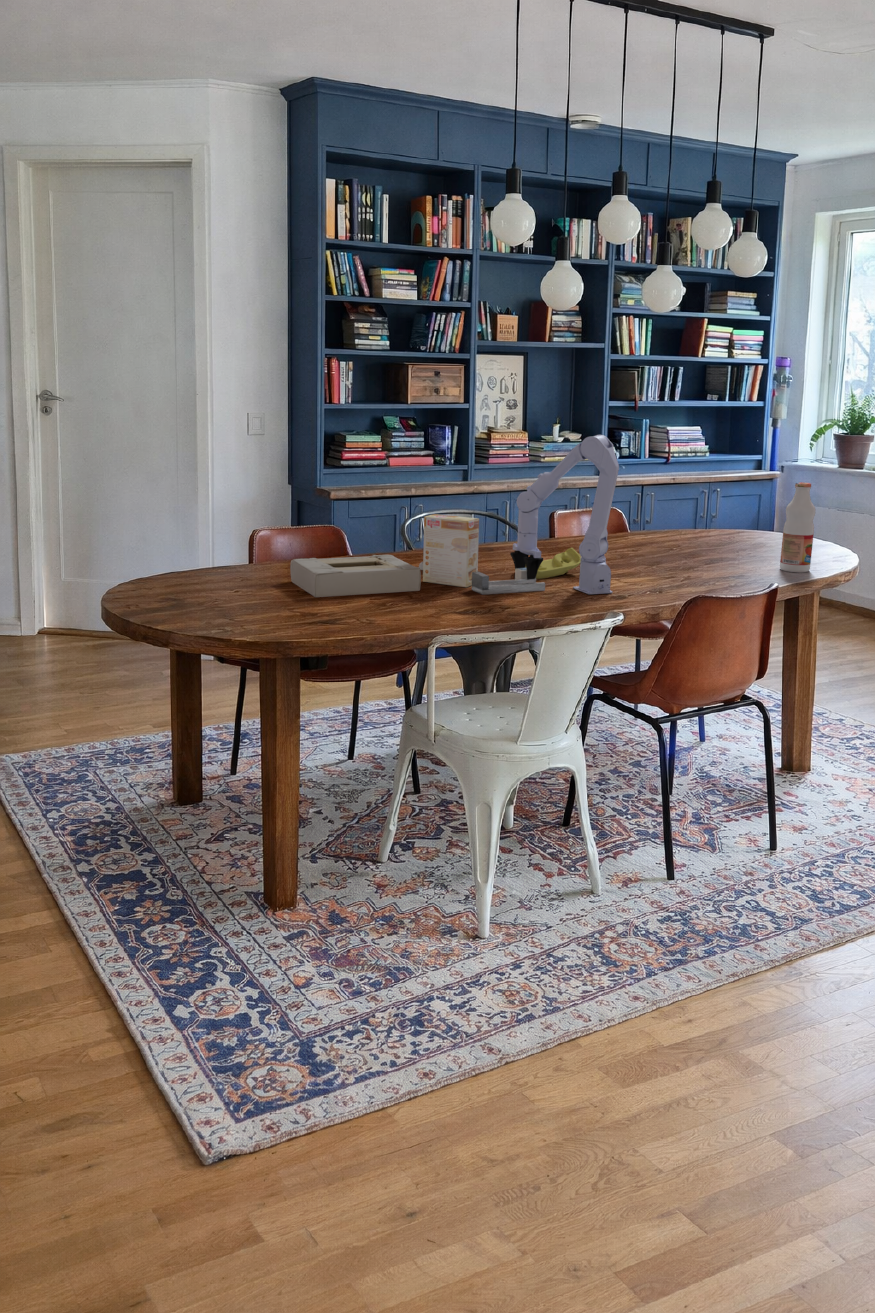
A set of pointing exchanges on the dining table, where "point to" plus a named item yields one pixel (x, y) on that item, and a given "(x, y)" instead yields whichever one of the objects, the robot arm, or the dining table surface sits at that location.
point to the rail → (503, 585)
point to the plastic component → (559, 564)
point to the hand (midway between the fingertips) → (525, 578)
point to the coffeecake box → (450, 549)
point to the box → (354, 575)
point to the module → (520, 573)
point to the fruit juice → (798, 531)
